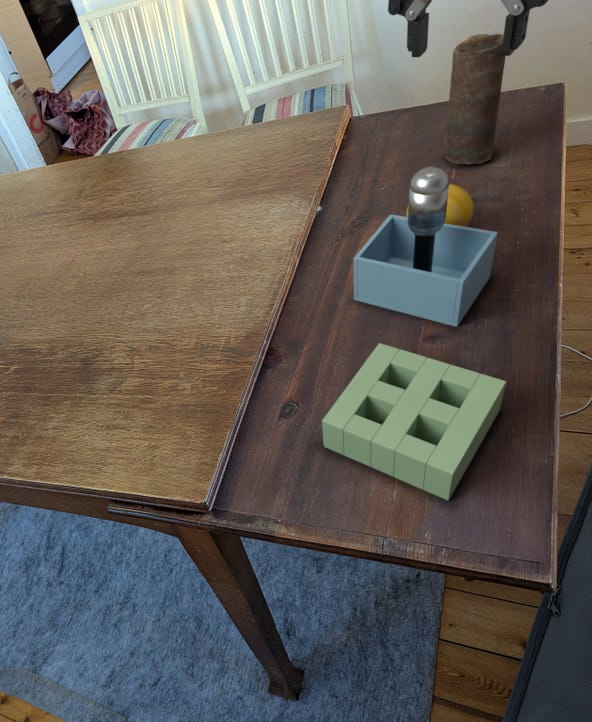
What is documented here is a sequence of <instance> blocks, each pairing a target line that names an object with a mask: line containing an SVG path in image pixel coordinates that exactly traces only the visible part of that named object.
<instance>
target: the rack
mask: <svg viewBox="0 0 592 722" xmlns="http://www.w3.org/2000/svg"><path fill="white" fill-rule="evenodd" d="M506 385H507V381H506V380H503V379H500V378H498V377H494V376H490V375H486V374H484V373H480V372H477V371H473V370H471V369H467V368H464V367H460V366H457V365H453V364H450V363H447V362H444V361H440V360H437V359H434V358H431V357H427V356H424V355H420V354H417V353H413V352H411V351H407V350H404V349H400V348H397V347H394V346H391V345H387V344H384V343H380V342H379V343H378V344H377V345H376V346H375V348H374V349H373V351H372V352H371V353H370V355H369V356H368V357H367V358H366V360H365V362H364V363H363V364H362V366H361V367H360V368H359V370H358V371H357V372H356V374H355V375H354V377H353V378H352V379H351V381H350V382H349V383H348V385H347V386H346V387H345V388H344V390H343V391H342V393H341V394H340V396H339V397H338V398H337V400H336V401H335V403H334V404H333V405H332V406H331V408H330V410H328V412H327V413H326V414H325V416H324V417H323V419H322V420H321V424H322V427H321V428H322V440H323V441H322V442H323V447H324V448H327V449H328V450H330V451H333V452H334V453H338V454H340V455H342V456H345V457H347V458H349V459H350V460H353V461H356V462H358V463H360V464H363V465H365V466H367V467H370V468H372V469H375V470H376V471H379V472H381V473H383V474H386V475H388V476H390V477H393V478H395V479H397V480H399V481H401V482H404V483H406V484H407V485H408V484H409V485H411V486H413V487H416V488H418V489H420V490H423V491H425V492H426V493H429V494H431V495H434V496H436V497H439V498H441V499H443V500H446V501H450V500H451V497H452V496H453V494H454V492H455V490H456V489H457V487H458V485H459V483H460V481H461V480H462V478H463V476H464V474H465V472H466V470H467V469H468V467H469V466H470V464H471V462H472V460H473V459H474V456H475V454H476V453H477V451H478V449H479V447H480V446H481V444H482V442H483V441H484V439H485V437H486V435H487V434H488V432H489V430H490V428H491V427H492V425H493V423H494V421H495V419H496V418H497V416H498V414H499V413H500V410H501V407H502V402H503V398H504V394H505V389H506Z"/></svg>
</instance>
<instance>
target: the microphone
mask: <svg viewBox="0 0 592 722" xmlns="http://www.w3.org/2000/svg"><path fill="white" fill-rule="evenodd" d="M449 184H450V178H449V176H448V174H447V172H446V171H445V170H443V169H442V168H440V167H437V166H427V167H423V168H421V169H419V170H418V171H416V173H415V174H414V175H413V176H412V178H411V180H410V183H409V187H408V188H409V190H408V191H409V192H408V205H407V208H408V226H409V228H410V230H411V231H412V232H413V233H414V234H415V242H414V257H413V269H418V270H422V271H427V272H432V263H433V253H434V242H435V234H436V233H437V232H438V231H440V229H441V228H442V227H443V225H444V223H445V219H446V210H447V200H448V191H449Z"/></svg>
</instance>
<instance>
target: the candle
mask: <svg viewBox="0 0 592 722" xmlns="http://www.w3.org/2000/svg"><path fill="white" fill-rule="evenodd" d="M503 36H504V33H503V34H502V33H494V34H488V33H478V34H475V35H470V36H468V37H467V38H466V39H465V40H464V41H461V42H459V44H457V45H456V46H455V48H453V51H452V62H451V63H452V64H451V75H450V86H449V98H448V108H447V118H446V119H447V120H446V127H445V139H444V147H443V149H444V150H443V158H445V159H446V160H447V161H449V163H450V162H451V163H452V164H456V165H473V164H475V165H476V164H479V165H480V164H483V163H484V162H488V161H491V160H492V158H493V153H494V146H495V139H496V131H497V125H498V123H497V122H498V116H499V107H500V100H501V90H502V85H503V77H504V69H505V64H506V57H507V56H502V55H501V52H502V44H503Z"/></svg>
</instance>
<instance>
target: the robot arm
mask: <svg viewBox="0 0 592 722" xmlns="http://www.w3.org/2000/svg"><path fill="white" fill-rule="evenodd" d="M500 1H501V3H502V4H503V6H504V7H505V9H506V10H507V12H508V14H507V15H506V16H505V21H504V30H503V35H504V36H503V44H502V52H501V55H502V56H506V57H511V55H513V53H514V52H515V51H516V50H518V49H519V48H520V47H521V45H522V44H523V42H524V41H525V39H526V37H527V30H528V24H529V19H530V18H529V17H530V13H531V10H532V9H535V8H540V7H543V6H545V5H546V4H547V3H548V2H549V0H500ZM432 2H433V0H388V5H387V12H388V14H389V15H390V16H396V15H399V16H401V17H404V18H405V19H406V23H407V29H406V30H407V31H406V32H407V33H406V48H407V51H408V52H411V58H421V57H422V56H423V55H424V54H425V53H426V52H427V49H428V44H429V43H428V41H429V25H430V24H429V22H430V12H427V9H428V7H429V6H430V4H431V3H432Z"/></svg>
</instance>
